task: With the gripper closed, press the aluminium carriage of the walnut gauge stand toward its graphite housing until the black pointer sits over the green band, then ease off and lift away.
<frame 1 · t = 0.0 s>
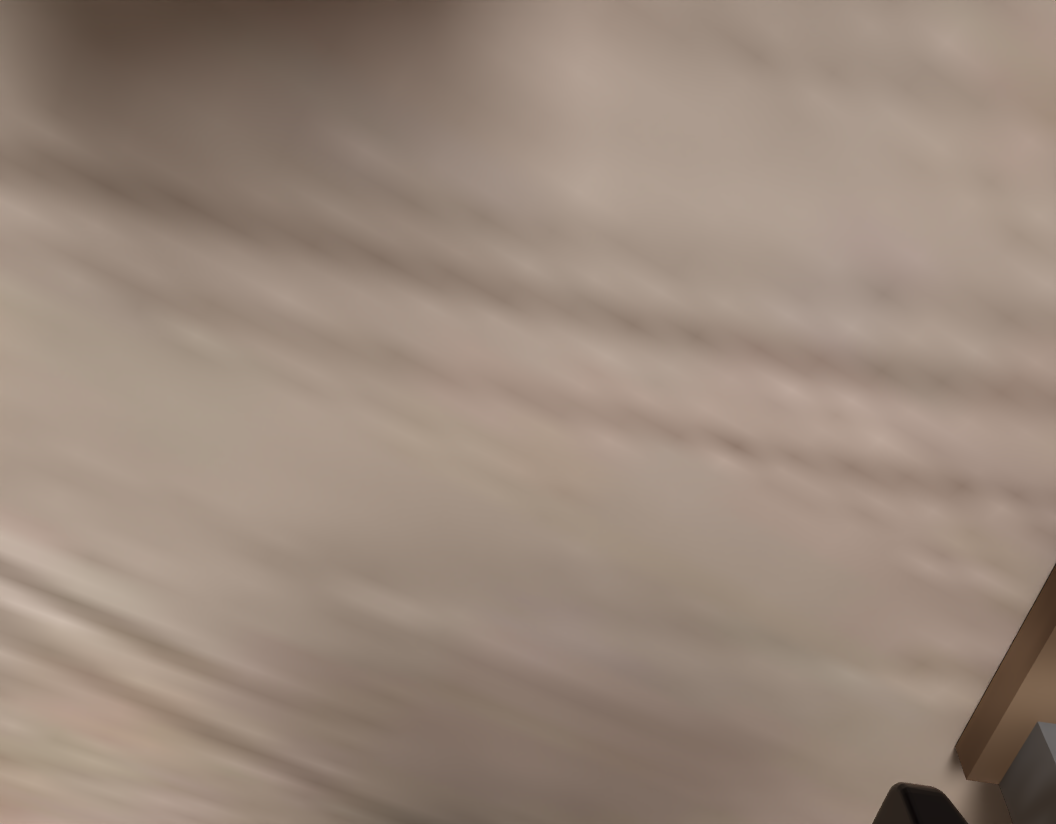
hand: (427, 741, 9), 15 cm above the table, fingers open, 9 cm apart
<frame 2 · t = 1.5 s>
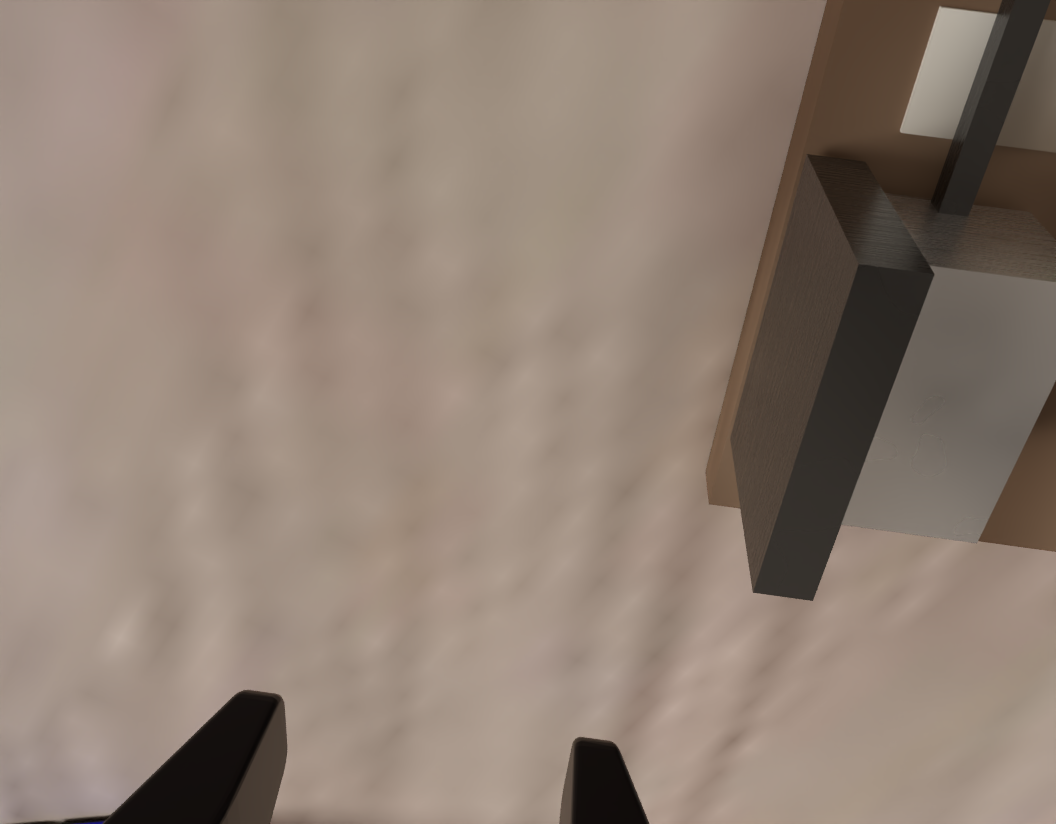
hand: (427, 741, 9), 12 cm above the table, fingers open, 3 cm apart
gauge carriage: (940, 276, 15), point 4 cm above the table, slide at 0.0 cm
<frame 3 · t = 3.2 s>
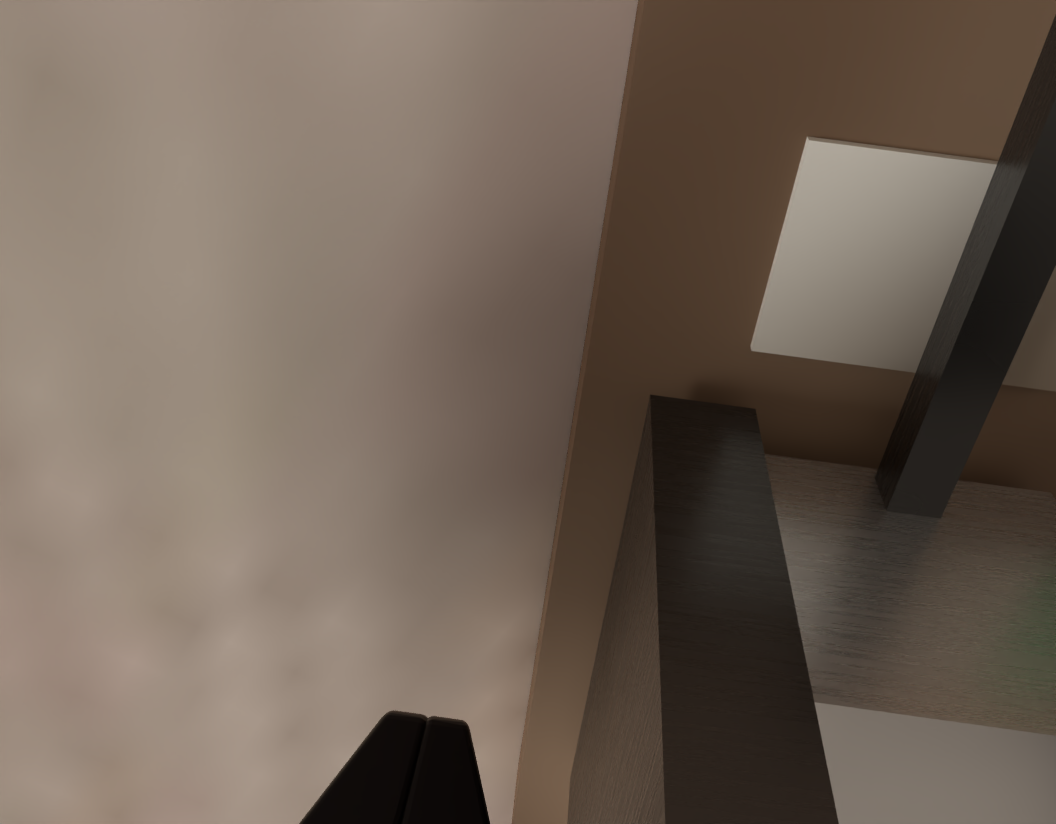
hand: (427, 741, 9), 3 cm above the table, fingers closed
gauge carriage: (882, 677, 8), point 4 cm above the table, slide at 0.6 cm, touching gripper
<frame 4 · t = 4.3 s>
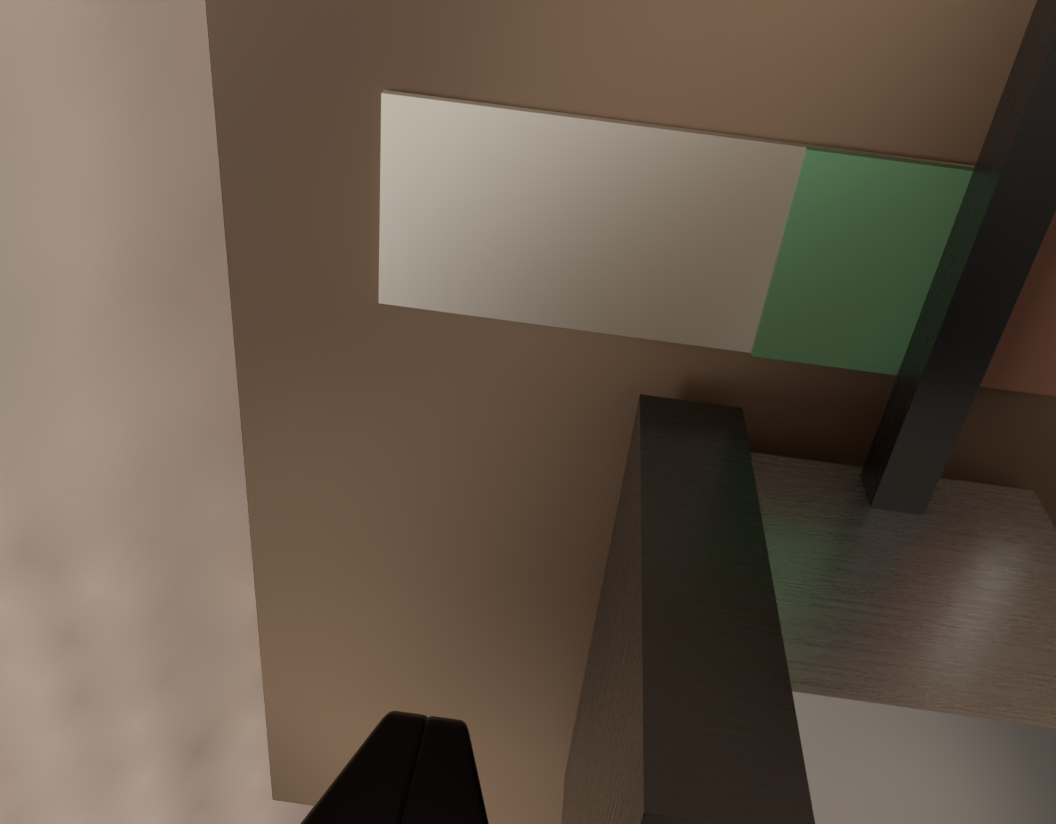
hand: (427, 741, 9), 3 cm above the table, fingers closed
gauge stand: (807, 492, 11), on the table
gauge carriage: (863, 669, 8), point 4 cm above the table, slide at 4.1 cm, touching gripper
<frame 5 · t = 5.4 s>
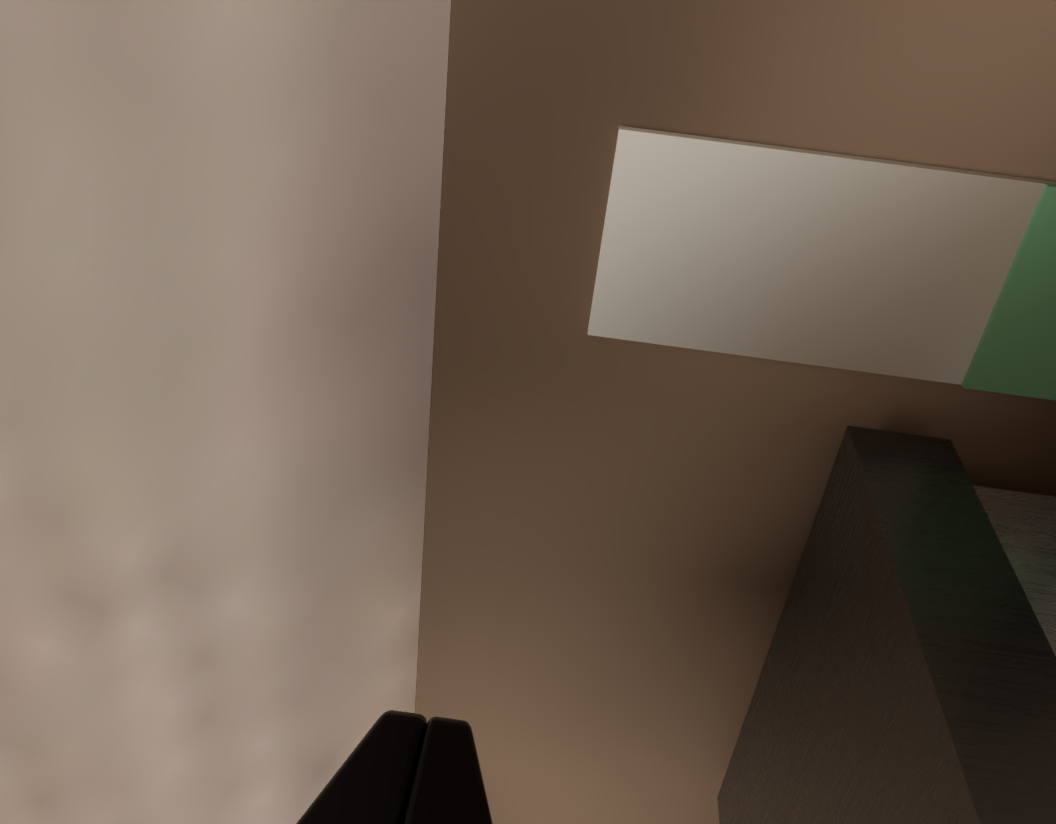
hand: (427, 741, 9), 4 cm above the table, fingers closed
gauge stand: (973, 517, 11), on the table
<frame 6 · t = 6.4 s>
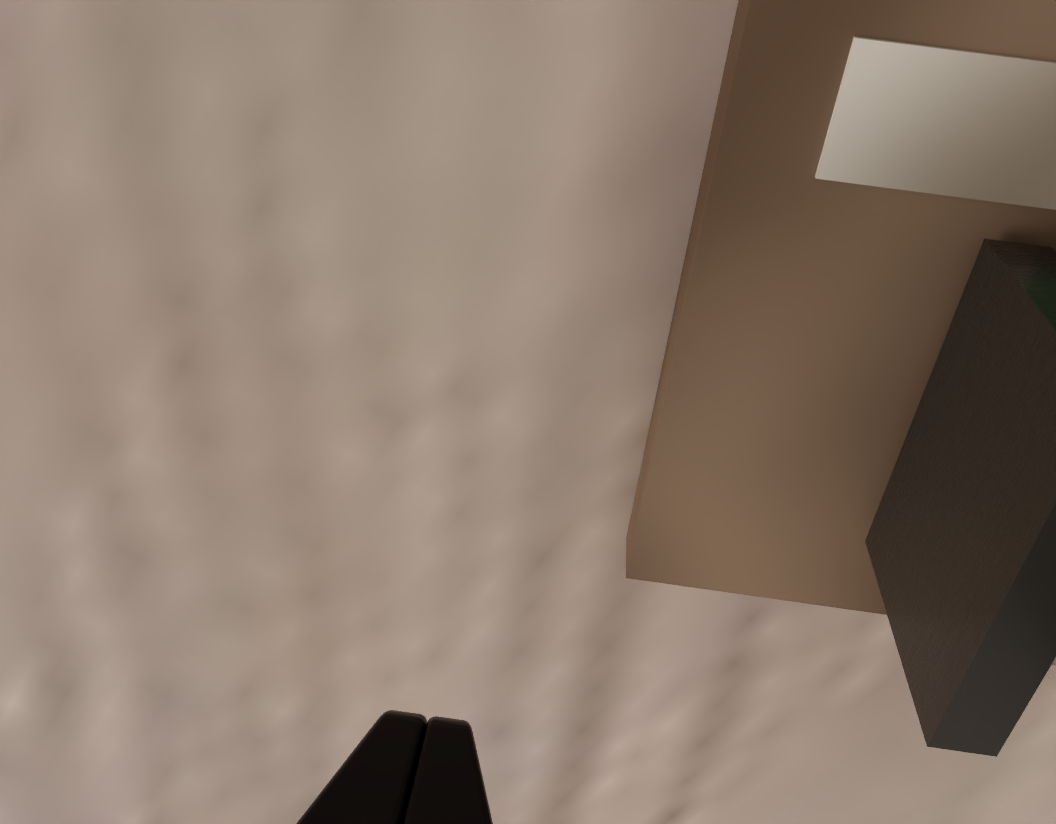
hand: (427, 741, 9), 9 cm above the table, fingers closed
gauge stand: (1053, 329, 16), on the table
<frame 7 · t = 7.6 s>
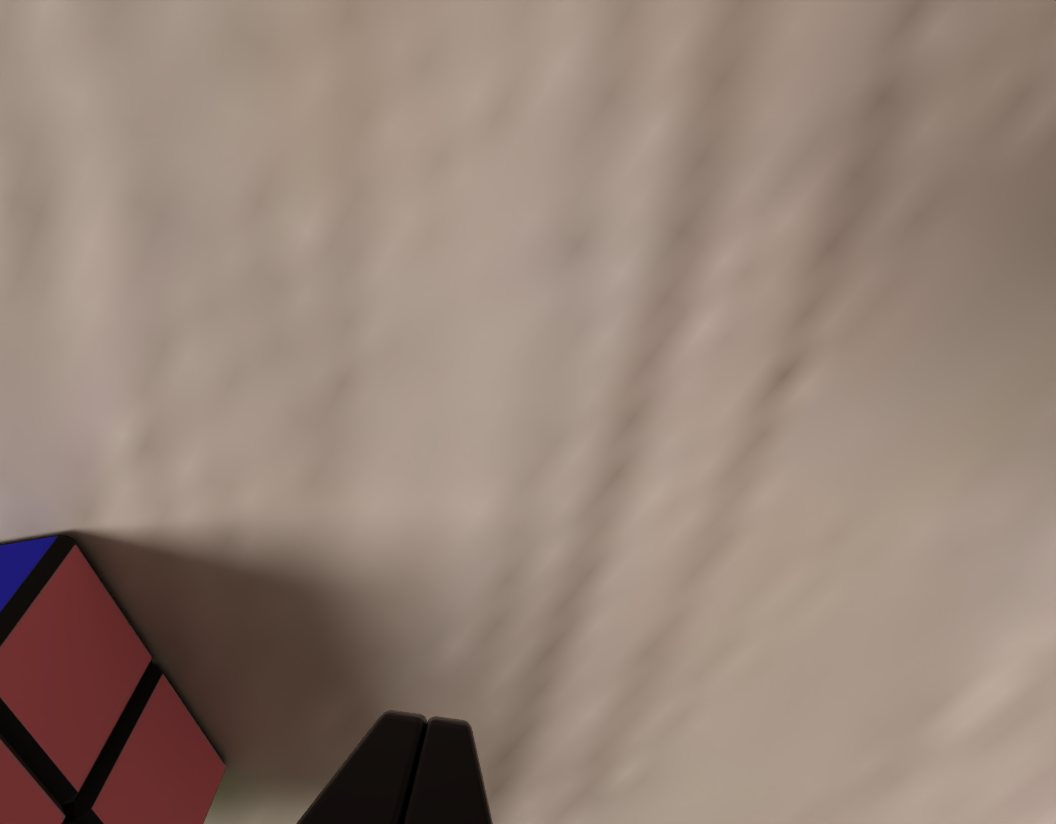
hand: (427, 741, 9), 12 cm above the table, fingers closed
puzzle cube: (19, 670, 29), on the table
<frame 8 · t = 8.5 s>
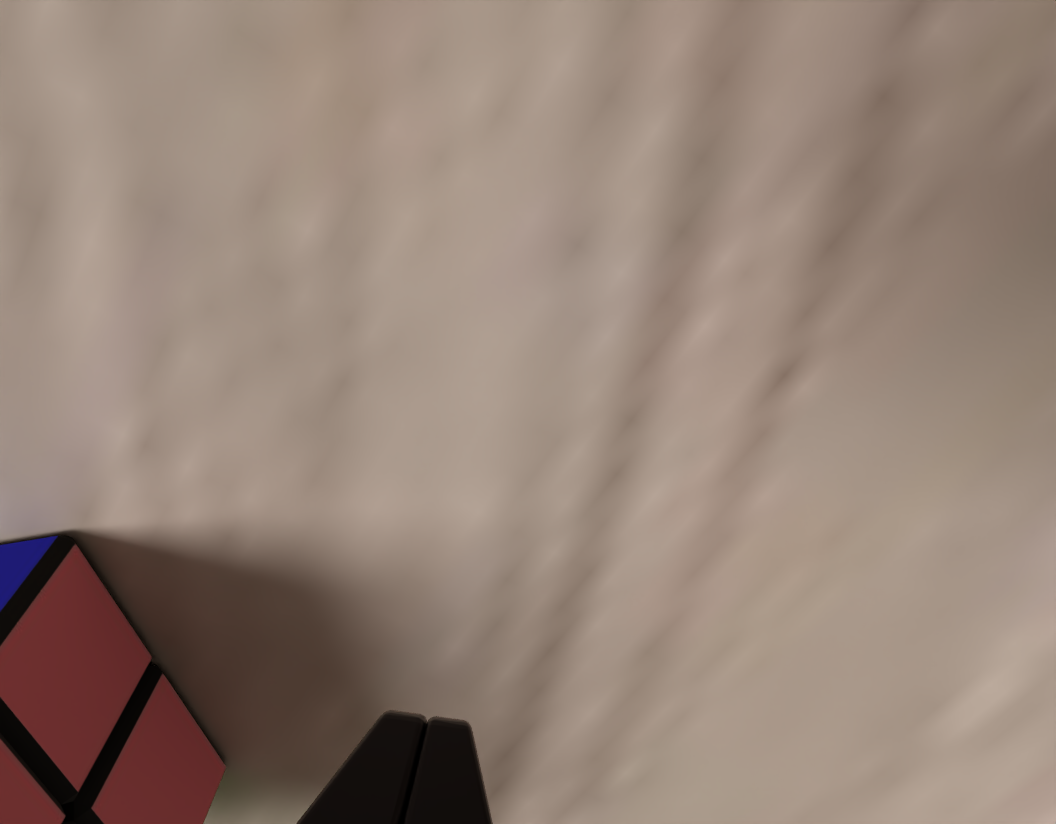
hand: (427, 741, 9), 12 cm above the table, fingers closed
puzzle cube: (19, 669, 29), on the table
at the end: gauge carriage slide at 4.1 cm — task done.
